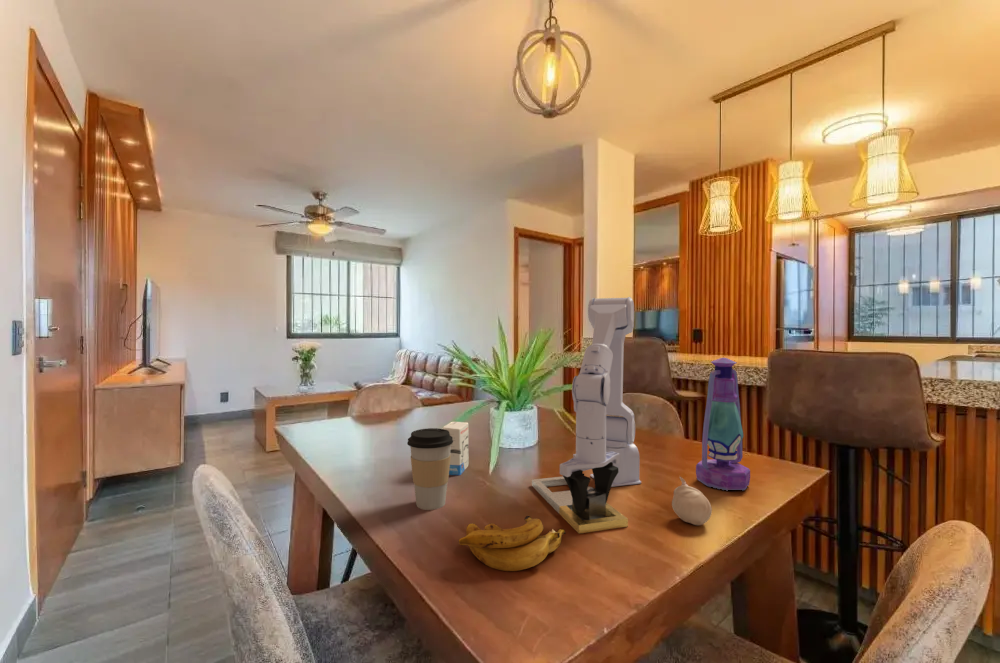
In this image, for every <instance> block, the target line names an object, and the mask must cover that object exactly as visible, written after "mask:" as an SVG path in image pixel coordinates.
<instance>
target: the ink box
mask: <svg viewBox="0 0 1000 663" xmlns="http://www.w3.org/2000/svg"><path fill="white" fill-rule="evenodd" d="M442 429H445V430H448V431H449V433H450V436H452V438H453V439H452V440H453V443H452V444H451V450H450V454H451V458H450V468H449V476H461V475H462V474H463V473H464V472H465V471H466V469H467V468H468V467H469V464H470V463H469V461H470V460H469V459H470V458H469V422H465V421H464V422H463V421H451V422H448V423H447V424H446V425H444V426H443V427H442Z"/></svg>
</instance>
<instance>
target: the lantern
mask: <svg viewBox="0 0 1000 663" xmlns="http://www.w3.org/2000/svg"><path fill="white" fill-rule="evenodd" d="M710 363H711V364H712V365H713V366H714V370H711V371H710V373H709V375H708V376H709V377H708V386H707V397H706V405H705V410H704V411H705V412H704V420H703V427H702V440H701V460H700V461H699V462H698V463H697V464H696V465H695V476H696V480H697V481H698V482H700V483H702V484H703V485H705V486H707V488H711V487H713V488H712V489H716V488H717V490H720V489H722V490H721V491H724V490H726V491H725V492H729V491H728V490H742V491H745V490H746V489H747V488H748V487H749V486H750V482H751V469H750V468H749V467H746V466H744V465H743V464H741V463H740V462H741V461H742V459H743V457H744V456H743V438H744V431H743V426H742V417H741V404H740V397H739V396H740V394H739V381H738V373H737V370H735V369H733V366H734V365H735V364H737V362H736V361H734V360H732V359H730V358H727V357H719V358H717V359H714V360H711V361H710ZM708 446H709V448H708ZM708 452H709V453H708ZM708 457H709V458H711V459H709V458H708ZM747 486H748V487H747Z"/></svg>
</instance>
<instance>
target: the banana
mask: <svg viewBox="0 0 1000 663" xmlns="http://www.w3.org/2000/svg"><path fill="white" fill-rule="evenodd" d="M524 521H525V523H524V524H522V525H521V526H517V527H512V528H504V529H503V528H502V527H500V526H499V525H497V524H495V523H488V524H486V525H485V526H484V528H483V529H481V528H480V527H479V526H478V525H477V524H475V523H469V524H468V525H467V526H466V528H465V536H463V537H461V538H459V540H458V544H459V545H460V546H468V548H469V549H470V552H472V554H473V555H474V556H475V557H476V558H477V559H478V560H479V561H480V562H481V563H482V564H484V565H485V566H487V567H489V568H491V569H495V570H499V571H505V572H517V571H523V570H526V569H530V568H532V567H535V566H537V565H539V564H540V563H542V562H543V561H544V560H545V559H546V558H547V556H548V555H549V554H551V553H553V552H554V551H556V550H557V549H558V548H559V547H560V545H561V543H562V536H563V535H566V531H565V529H561V528H560V529H558V530H557V531H555V530H554V528H552V529H551V530H548V532H547V533H546V534H543V535H541V534H542V532H543V530H544V524H543V522H542V520H541V519H540V518H532V517H531V515H526V516H525V517H524Z"/></svg>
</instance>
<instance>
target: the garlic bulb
mask: <svg viewBox="0 0 1000 663" xmlns="http://www.w3.org/2000/svg"><path fill="white" fill-rule="evenodd" d="M679 480H680V481H681V485H678V486H677V487H676V488H674V490H673V497H672V501H671V506H672V509H673V511H674V513H675V514H676V515H677V516H678V518H680V520H682V521H683V522H685V523H689V524H692V525H693V526H702V525H704V524H705V523H706V522H708V521H709V519H710V518H711V516H712V513H713V512H712V511H713V510H712V505H711V502H710V501H709V499H708V498H707V497H706V496H705V495H704V493H703V492H702V491H701V490H699V489H697V488H696V487H693V486H689V485H688V483H687V482H686V480H685V479H684V478H683V477H682V476H681V475H679Z"/></svg>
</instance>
